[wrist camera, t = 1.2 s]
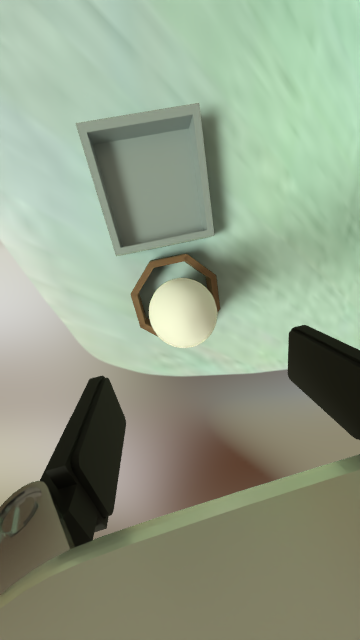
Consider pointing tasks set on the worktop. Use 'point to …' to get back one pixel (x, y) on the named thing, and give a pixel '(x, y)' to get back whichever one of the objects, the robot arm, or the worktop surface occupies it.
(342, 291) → the worktop surface
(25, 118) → the worktop surface
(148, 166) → the tray
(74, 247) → the worktop surface
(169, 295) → the light bulb
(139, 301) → the holder ring
